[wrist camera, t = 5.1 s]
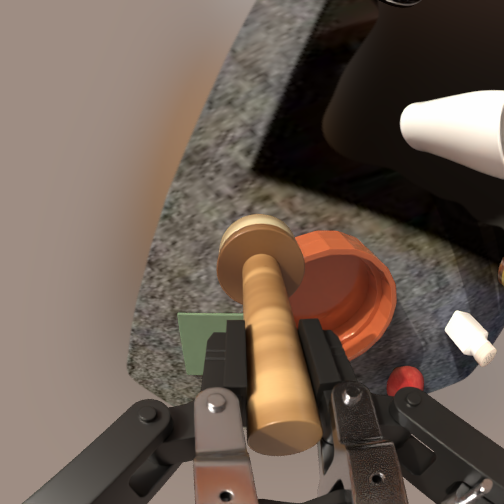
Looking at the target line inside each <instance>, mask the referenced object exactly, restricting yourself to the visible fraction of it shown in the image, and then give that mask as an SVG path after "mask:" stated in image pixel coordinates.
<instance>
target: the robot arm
mask: <svg viewBox="0 0 504 504" xmlns="http://www.w3.org/2000/svg"><path fill="white" fill-rule="evenodd" d="M379 1H381V2H384V3H386V4H388V5H391V6H395V7H402V8H406V7H411V6H414V5H415V4H417V3H419V2H420V1H421V0H379ZM298 334H299V338H300V342H301V346H302V349H303V353H304V357H305V361H306V365H307V368H308V372H309V376H310V380H311V384H312V388H313V392H314V395H315V399H316V403H317V407H318V411H319V415H320V419H321V423H322V427H323V436H322V438H321V440H320V441H319V442H318V443H317V447H318V458H319V459H318V460H319V474H320V480H319V486H318V495H317V498H315V499H312V500H310V501H307V502H304V503H289V502H281V501H274V500H267V499H257V494H256V488H255V483H254V478H253V472H252V467H251V461H250V457H249V453H248V452H247V449H246V443H245V437H244V431H243V427H247V425H246V406H247V365H246V336H245V320H227V325H226V332H213V334H212V335H211V336H210V337H209V339H208V340H207V346H206V353H205V361H204V369H203V377H202V385H201V391H200V393H199V394H198V395H197V396H196V398H195V399H194V400H193V401H191V402H189V403H187V404H184V405H180V406H175V407H169V408H168V407H167V406H166V405H165V404H164V403H162V402H160V401H158V400H153V399H146V400H141V401H139V402H136V403H135V404H134V405H132V406H131V407H130V408H129V409H128V410H127V411H126V412H125V413H124V414H123V415H121V416H120V417H119V418H118V419H117V420H116V421H115V422H114V423H113V424H112V425H111V426H110V427H108V428H107V429H106V430H105V431H104V432H103V433H102V434H101V435H100V436H99V437H98V438H96V439H95V440H94V441H93V442H92V443H91V444H90V445H89V446H88V447H87V448H85V449H84V450H83V451H82V452H81V453H80V454H79V455H78V456H77V457H75V458H74V459H73V460H72V461H71V462H70V463H69V464H67V465H66V466H65V467H64V468H63V469H62V470H61V471H59V472H58V473H57V474H56V475H55V476H54V477H53V478H51V480H49V481H48V482H47V483H46V484H44V485H43V486H42V487H41V488H40V489H39V490H37V491H36V492H35V493H34V494H33V495H32V496H30V497H29V498H28V499H27V500H26V501H24V502H23V503H22V504H147V503H148V502H149V501H150V500H151V499H152V498H153V496H154V495H155V494H156V493H157V492H158V491H159V490H160V489H161V487H162V486H163V485H164V484H165V483H166V482H167V480H168V479H169V478H170V477H171V476H172V474H173V473H174V472H175V471H176V470H177V468H178V467H179V466H180V465H181V464H182V462H187V461H192V460H193V469H194V470H193V471H194V490H195V504H408V499H407V494H406V490H405V485H404V481H403V477H404V478H405V479H406V480H408V481H409V482H410V483H411V484H412V485H414V486H415V487H416V488H417V489H419V490H420V491H421V492H422V493H424V494H425V495H426V496H427V497H428V498H430V499H431V500H432V501H434V502H435V503H436V504H504V449H503V448H502V447H501V446H499V445H498V444H496V443H495V442H493V441H492V440H491V439H489V438H488V437H486V436H485V435H483V434H482V433H481V432H479V431H478V430H476V429H475V428H474V427H472V426H471V425H469V424H468V423H467V422H465V421H464V420H462V419H461V418H460V417H458V416H457V415H455V414H454V413H453V412H451V411H450V410H448V409H447V408H445V407H444V406H443V405H441V404H440V403H439V402H437V401H436V400H435V399H433V398H432V397H430V396H429V395H428V394H426V393H425V392H424V391H422V390H420V389H418V388H415V387H404V388H401V389H399V390H398V391H397V392H396V394H395V396H386V395H377V394H373V393H371V392H370V390H369V389H368V388H367V387H366V386H365V385H363V384H362V383H359V382H357V379H356V377H355V374H354V372H353V370H352V367H351V365H350V362H349V360H348V358H347V355H346V353H345V351H344V348H343V346H342V344H341V341H340V339H339V337H338V336H337V335H336V334H335V333H334V332H333V331H331V330H323V329H322V327H321V324H320V321H319V319H318V318H313V319H300V320H299V323H298ZM411 434H413V435H414V436H415V437H416V438H418V439H419V440H420V441H421V442H423V443H424V444H425V445H427V446H428V447H429V448H430V449H432V450H433V451H434V452H435V453H434V452H432V451H431V450H430V449H428V448H427V447H426V446H425V445H423V444H422V443H420V442H419V441H418V440H417V439H416V438H414V437H413V436H412V435H411Z"/></svg>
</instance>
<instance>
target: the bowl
mask: <svg viewBox="0 0 504 504" xmlns="http://www.w3.org/2000/svg"><path fill="white" fill-rule="evenodd" d="M295 239H296V241H297V243H298V245H299V247H300V249H301V251H302V253H303V256H304V261H305V272H304V277H303V280H302V282H301V284H300V286H299V287H298V289H297V290H296V291H295V293H294V294H293V295H292V296H290V297H289V301H290V305H291V309H292V312H293V316H294V320H295V323H296V327H297V331H298V323H299V320H300V319H313V318H318V319H319V321H320V324H321V327H322V329H323V330H331V331H333V332H334V333H335V334H336V335H337V336H338V337H339V339H340V341H341V344H342V346H343V348H344V351H345V353H346V355H347V358H348V360H349V361H351V360H353V359H354V358H356V357H358V356H360V355H361V354H363V353H364V352H366V351H367V350H368V349H369V348H371V347H372V346H373V345H374V344H375V343H376V342H377V341H378V340H379V339H380V338H381V337H382V335H383V334H384V332H385V330H386V329H387V327H388V326H389V324H390V322H391V320H392V317H393V314H394V310H395V307H396V303H397V301H396V285H395V282H394V280H393V278H392V275H391V273H390V271H389V269H388V268H387V267H386V266H385V265H384V264H383V263H382V261H381V260H380V259H379V258H378V257H377V256H376V255H374V254H373V253H372V252H371V251H370V250H369V249H368V248H367V247H366V246H365V245H364V244H363V243H362V242H360V241H359V240H358V239H357V238H355V237H353V236H350V235H347V234H345V233H342V232H339V231H314V232H311V233H308V234H304V235H301V236H298V237H295Z"/></svg>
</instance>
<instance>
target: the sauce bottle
mask: <svg viewBox="0 0 504 504" xmlns="http://www.w3.org/2000/svg"><path fill="white" fill-rule="evenodd" d="M498 280H499V282H500V283H501V284H502V285H503V286H504V257H503V259H502V261H501V263H500V266H499V270H498Z"/></svg>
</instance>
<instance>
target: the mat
mask: <svg viewBox="0 0 504 504" xmlns="http://www.w3.org/2000/svg"><path fill="white" fill-rule="evenodd" d="M177 315H178V322H179V329H180V336H181V342H182V348H183V354H184V360H185V366H186V371H187V375H203V369H204V361H205V353H206V346H207V340H208V339H209V337H210V336H211V335H212V334H213V332H226V325H227V320H243V313H178V314H177Z"/></svg>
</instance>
